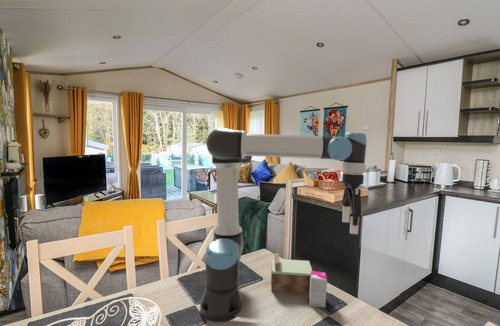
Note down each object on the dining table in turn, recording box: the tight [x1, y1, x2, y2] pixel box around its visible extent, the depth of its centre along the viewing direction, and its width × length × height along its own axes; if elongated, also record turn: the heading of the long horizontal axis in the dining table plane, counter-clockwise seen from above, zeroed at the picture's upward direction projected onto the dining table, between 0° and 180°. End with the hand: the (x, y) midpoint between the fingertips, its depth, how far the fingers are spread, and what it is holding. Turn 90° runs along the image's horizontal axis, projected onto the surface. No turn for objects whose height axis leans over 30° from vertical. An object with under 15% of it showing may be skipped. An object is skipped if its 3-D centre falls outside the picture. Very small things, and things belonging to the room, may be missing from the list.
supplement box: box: [308, 270, 328, 308], centre depth 96 cm, size 6×6×12 cm
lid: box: [271, 252, 313, 276], centre depth 107 cm, size 16×11×4 cm
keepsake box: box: [270, 268, 310, 295], centre depth 107 cm, size 16×11×8 cm
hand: (349, 227), depth 101 cm, fingers open, 13 cm apart
